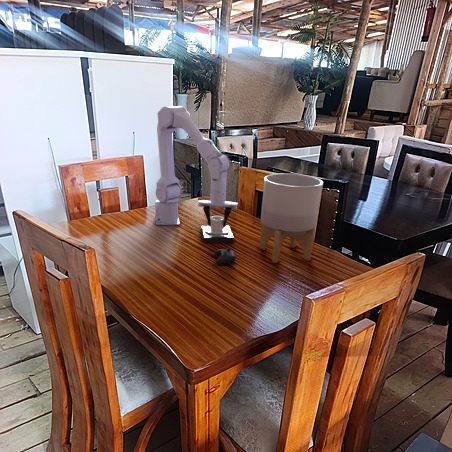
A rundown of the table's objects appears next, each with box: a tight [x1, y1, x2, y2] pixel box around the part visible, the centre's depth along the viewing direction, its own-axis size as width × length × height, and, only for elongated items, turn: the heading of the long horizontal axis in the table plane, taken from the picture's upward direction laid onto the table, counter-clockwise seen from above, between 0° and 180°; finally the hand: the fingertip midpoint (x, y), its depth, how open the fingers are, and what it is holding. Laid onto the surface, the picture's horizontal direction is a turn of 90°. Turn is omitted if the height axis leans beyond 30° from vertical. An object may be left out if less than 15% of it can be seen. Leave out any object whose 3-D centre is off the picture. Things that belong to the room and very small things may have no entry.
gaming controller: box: [214, 247, 236, 266], centre depth 134 cm, size 10×5×6 cm
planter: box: [259, 172, 324, 264], centre depth 135 cm, size 19×19×26 cm
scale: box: [201, 225, 235, 244], centre depth 154 cm, size 11×13×2 cm
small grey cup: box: [210, 215, 224, 231], centre depth 153 cm, size 5×5×4 cm
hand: (217, 225), depth 153 cm, fingers closed on small grey cup, 5 cm apart
